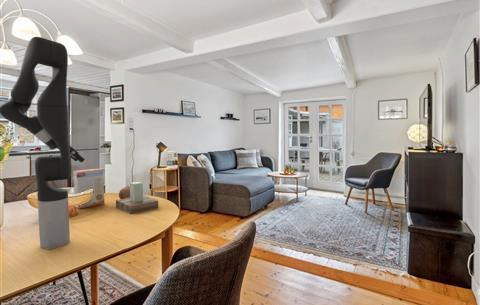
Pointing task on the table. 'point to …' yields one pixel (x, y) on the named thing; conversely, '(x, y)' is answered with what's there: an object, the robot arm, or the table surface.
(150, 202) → the walnut base
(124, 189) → the onion
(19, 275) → the table surface
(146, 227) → the table surface
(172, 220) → the table surface
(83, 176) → the cracker box
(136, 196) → the sage block
